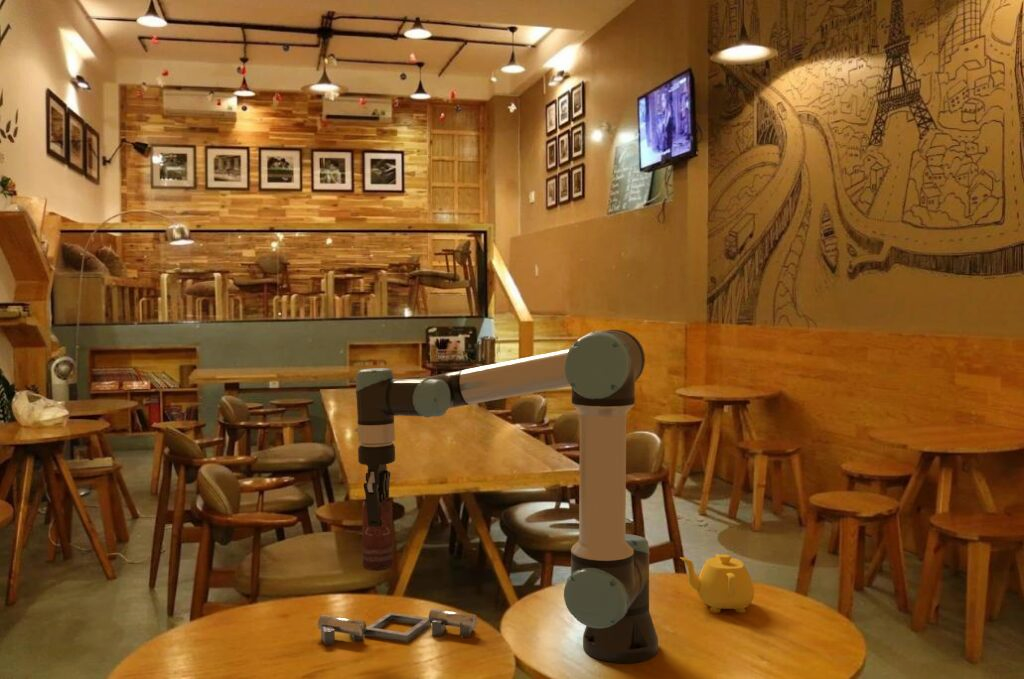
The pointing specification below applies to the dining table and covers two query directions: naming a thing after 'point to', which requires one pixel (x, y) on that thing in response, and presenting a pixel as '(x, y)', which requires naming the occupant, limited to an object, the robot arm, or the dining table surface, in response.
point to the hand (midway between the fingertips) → (379, 556)
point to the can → (378, 539)
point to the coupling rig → (374, 630)
